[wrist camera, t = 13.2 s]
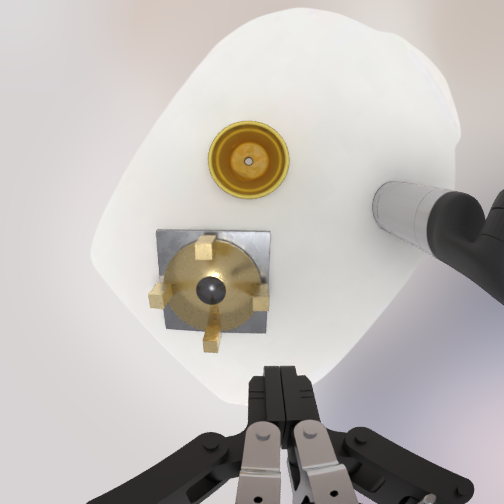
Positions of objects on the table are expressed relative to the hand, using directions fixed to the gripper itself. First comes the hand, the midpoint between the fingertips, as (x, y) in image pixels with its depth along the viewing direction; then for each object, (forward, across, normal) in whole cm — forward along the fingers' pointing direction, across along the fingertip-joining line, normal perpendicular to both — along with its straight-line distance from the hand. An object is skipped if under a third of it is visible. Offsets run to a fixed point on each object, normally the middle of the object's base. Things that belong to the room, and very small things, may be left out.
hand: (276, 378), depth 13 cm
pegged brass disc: (+34, +8, +10) cm, 36 cm away
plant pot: (+35, +2, -11) cm, 37 cm away
